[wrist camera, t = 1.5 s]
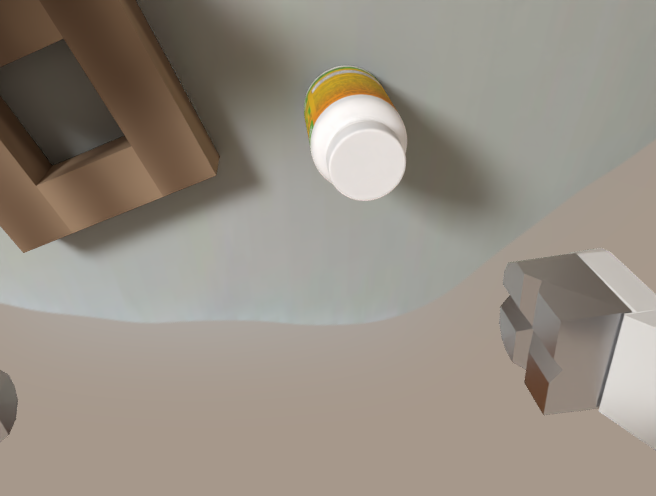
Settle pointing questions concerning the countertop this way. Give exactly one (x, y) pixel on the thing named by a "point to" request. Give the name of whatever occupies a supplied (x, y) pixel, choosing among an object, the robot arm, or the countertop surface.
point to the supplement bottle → (355, 133)
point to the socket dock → (124, 105)
